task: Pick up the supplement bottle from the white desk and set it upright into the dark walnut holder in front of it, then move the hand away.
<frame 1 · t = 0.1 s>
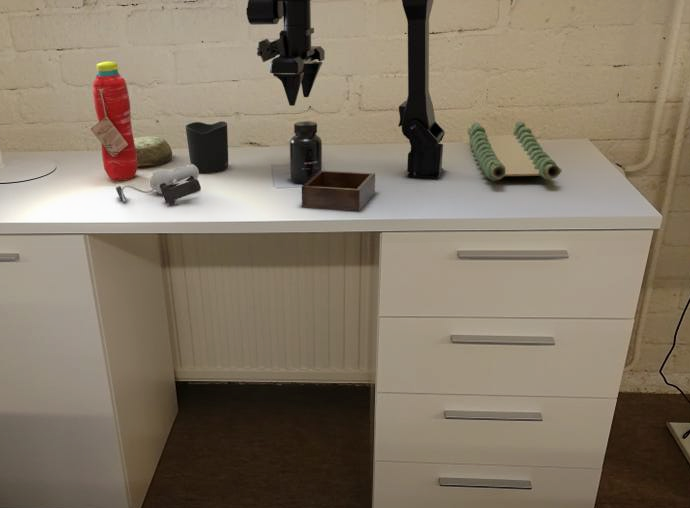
hand: (299, 101, 170), 15 cm above the table, tool pointing down, fingers open, 9 cm apart
pen holder: (210, 169, 181), on the table
mossy green stone: (145, 162, 190), on the table
clip-on lamp: (159, 199, 162), on the table
holder: (338, 200, 155), on the table
water bottle: (120, 180, 177), on the table
supplement bottle: (306, 180, 168), on the table
stretcher: (508, 164, 171), on the table
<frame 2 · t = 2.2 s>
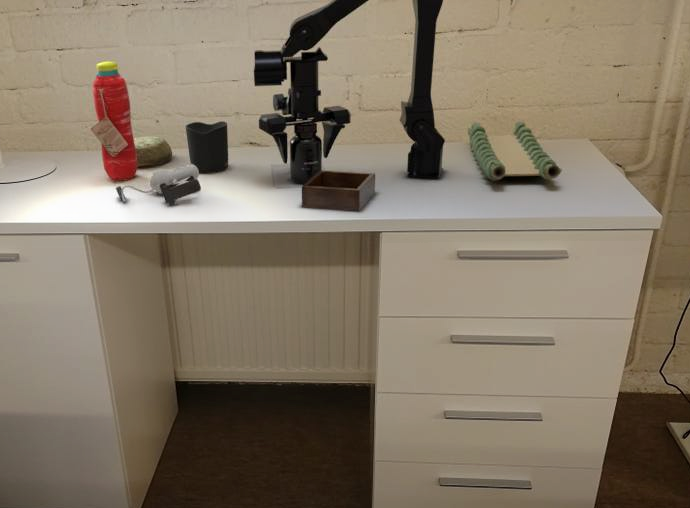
hand: (305, 160, 166), 4 cm above the table, tool pointing down, fingers open, 9 cm apart
supplement bottle: (306, 180, 168), on the table, touching gripper
everything else where it was.
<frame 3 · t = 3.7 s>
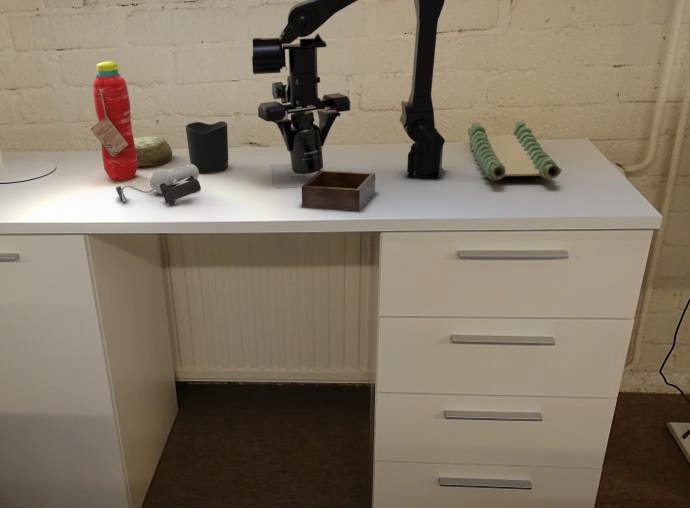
hand: (305, 148, 165), 7 cm above the table, tool pointing down, fingers closed on supplement bottle, 7 cm apart
supplement bottle: (308, 170, 167), point 2 cm above the table, touching gripper
everything else where it was.
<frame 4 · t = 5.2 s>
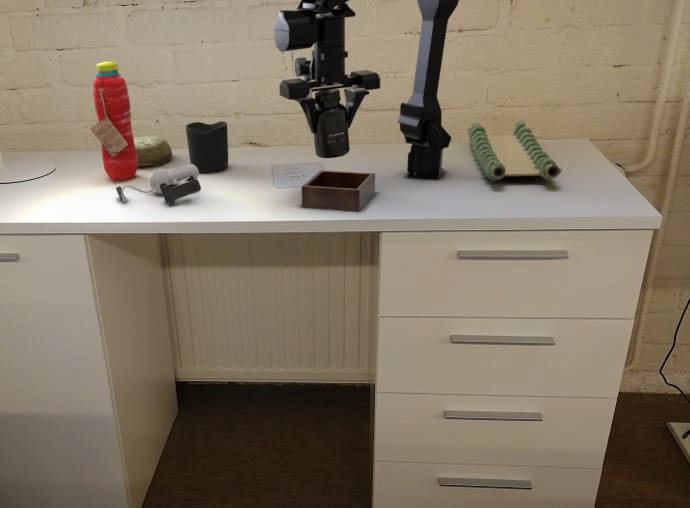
hand: (330, 130, 152), 13 cm above the table, tool pointing down, fingers closed on supplement bottle, 7 cm apart
supplement bottle: (333, 154, 154), point 8 cm above the table, touching gripper
everything else where it was.
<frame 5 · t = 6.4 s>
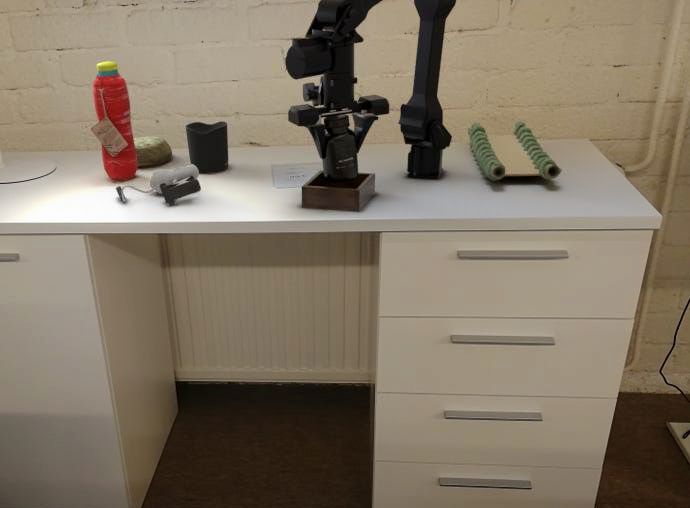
hand: (339, 155, 151), 9 cm above the table, tool pointing down, fingers closed on supplement bottle, 7 cm apart
supplement bottle: (342, 179, 153), point 4 cm above the table, touching gripper
everything else where it was.
when the fingers open (6 cm above the table, at t = 7.7 s): supplement bottle stays where it is, resting on holder.
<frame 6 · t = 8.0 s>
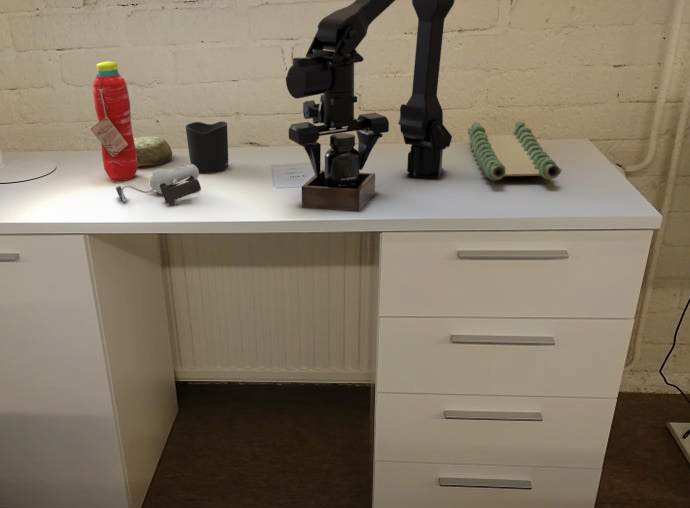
hand: (339, 172, 152), 5 cm above the table, tool pointing down, fingers open, 9 cm apart
supplement bottle: (342, 197, 155), resting on holder
everything else where it was.
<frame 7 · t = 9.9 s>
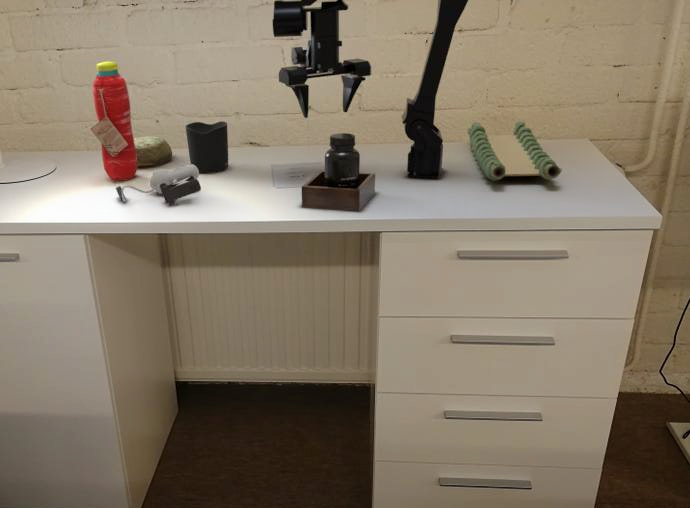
hand: (325, 114, 164), 13 cm above the table, tool pointing down, fingers open, 9 cm apart
nothing on the table moved.
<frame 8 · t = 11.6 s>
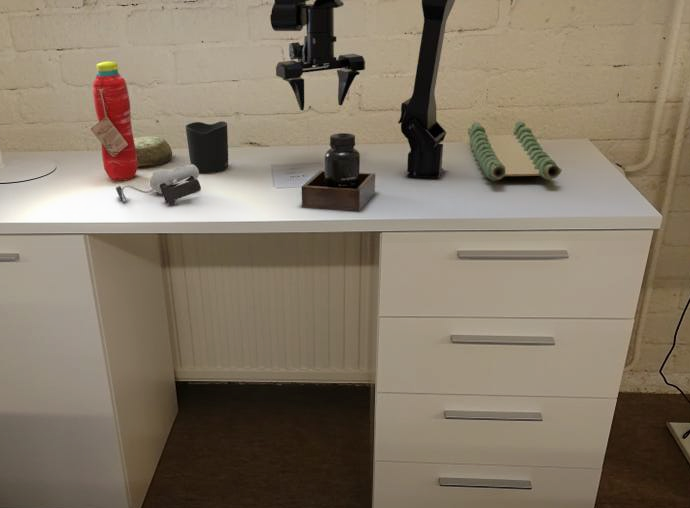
hand: (321, 107, 171), 13 cm above the table, tool pointing down, fingers open, 9 cm apart
nothing on the table moved.
at the end: supplement bottle 0.6 cm off-centre in the holder, point 0.4 cm above the holder's base; supplement bottle tilted 0°; the gripper is holding nothing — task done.
